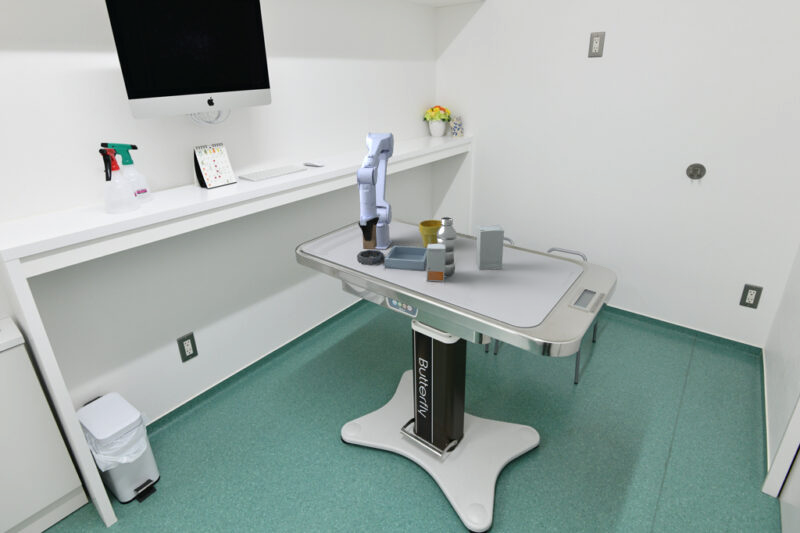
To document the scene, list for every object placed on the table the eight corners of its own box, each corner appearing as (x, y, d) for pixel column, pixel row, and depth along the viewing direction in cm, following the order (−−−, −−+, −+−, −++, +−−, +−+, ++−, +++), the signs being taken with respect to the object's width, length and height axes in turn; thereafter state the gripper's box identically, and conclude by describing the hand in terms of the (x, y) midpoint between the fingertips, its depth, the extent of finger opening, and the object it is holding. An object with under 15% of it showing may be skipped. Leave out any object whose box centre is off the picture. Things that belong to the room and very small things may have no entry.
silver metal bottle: (438, 270, 159) (440, 215, 151) (457, 273, 156) (459, 217, 148) (432, 277, 153) (433, 220, 146) (451, 280, 151) (453, 222, 143)
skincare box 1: (426, 281, 150) (426, 248, 145) (427, 276, 154) (427, 243, 149) (444, 282, 149) (445, 248, 144) (444, 276, 153) (445, 243, 148)
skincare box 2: (498, 263, 164) (501, 224, 158) (502, 270, 158) (505, 229, 152) (475, 264, 163) (477, 224, 158) (478, 270, 158) (480, 230, 152)
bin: (393, 254, 174) (393, 245, 172) (429, 256, 171) (430, 247, 169) (384, 268, 161) (384, 258, 160) (423, 271, 158) (423, 261, 157)
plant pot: (413, 245, 182) (413, 222, 178) (434, 240, 187) (434, 217, 184) (429, 253, 174) (429, 228, 170) (450, 247, 179) (451, 224, 176)
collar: (362, 255, 173) (362, 249, 172) (385, 256, 171) (385, 250, 170) (355, 264, 165) (354, 257, 164) (379, 266, 163) (378, 259, 162)
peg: (366, 245, 168) (365, 224, 165) (376, 245, 167) (376, 225, 164) (363, 248, 165) (362, 227, 161) (373, 249, 164) (373, 228, 161)
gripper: (373, 208, 152) (374, 246, 157) (384, 197, 165) (385, 232, 170) (353, 207, 153) (355, 244, 159) (365, 196, 166) (367, 231, 172)
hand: (369, 238), depth 165 cm, fingers closed on peg, 4 cm apart
